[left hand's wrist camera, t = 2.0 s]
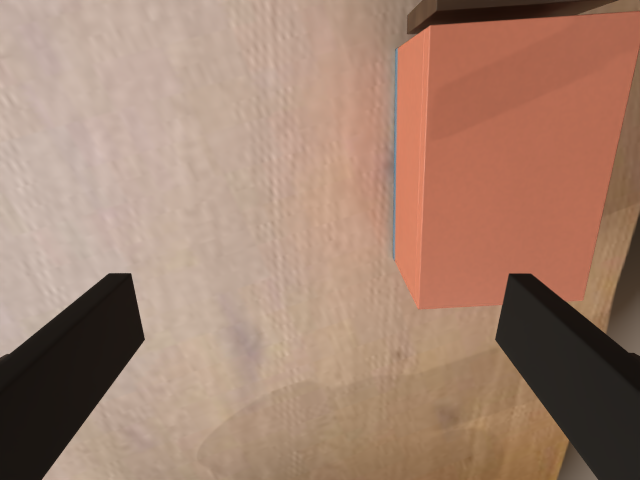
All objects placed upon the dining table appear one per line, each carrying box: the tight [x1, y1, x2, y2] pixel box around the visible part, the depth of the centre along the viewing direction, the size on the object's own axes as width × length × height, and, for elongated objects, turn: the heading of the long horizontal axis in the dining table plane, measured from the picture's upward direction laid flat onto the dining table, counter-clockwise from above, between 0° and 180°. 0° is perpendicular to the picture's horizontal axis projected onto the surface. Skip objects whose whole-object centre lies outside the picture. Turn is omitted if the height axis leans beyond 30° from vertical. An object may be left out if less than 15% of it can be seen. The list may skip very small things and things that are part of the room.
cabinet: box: [393, 11, 640, 309], centre depth 26 cm, size 17×11×9 cm, turn 3°
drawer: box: [407, 0, 617, 34], centre depth 24 cm, size 21×10×7 cm, turn 3°
